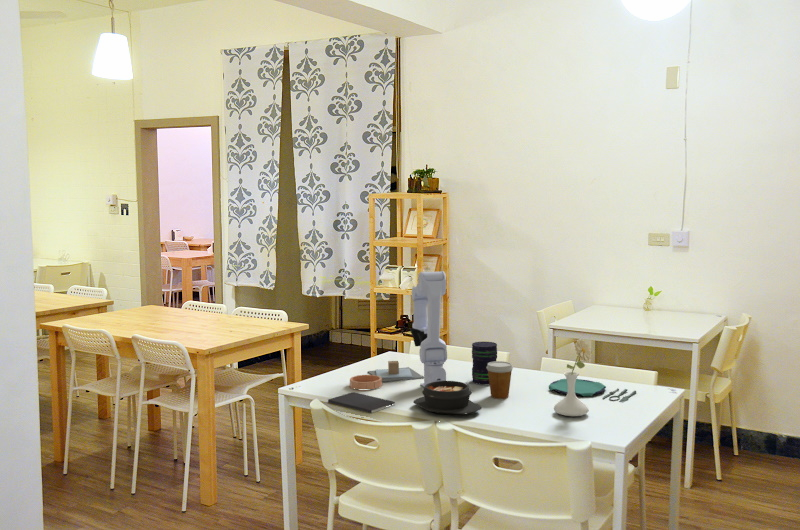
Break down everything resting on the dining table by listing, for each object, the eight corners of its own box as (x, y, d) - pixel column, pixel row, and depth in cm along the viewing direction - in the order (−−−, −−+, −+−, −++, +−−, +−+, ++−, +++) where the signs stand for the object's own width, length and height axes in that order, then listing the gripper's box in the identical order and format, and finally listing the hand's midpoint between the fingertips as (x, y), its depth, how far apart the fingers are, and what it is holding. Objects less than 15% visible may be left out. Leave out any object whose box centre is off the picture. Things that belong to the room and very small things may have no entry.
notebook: (328, 403, 266) (371, 414, 252) (327, 399, 266) (371, 410, 252) (353, 396, 275) (396, 406, 261) (353, 391, 275) (396, 401, 261)
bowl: (385, 388, 283) (385, 380, 283) (355, 391, 279) (355, 383, 279) (376, 381, 294) (376, 373, 294) (346, 384, 290) (346, 376, 290)
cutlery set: (563, 381, 291) (564, 375, 291) (639, 394, 273) (640, 387, 272) (540, 393, 275) (540, 386, 275) (619, 407, 257) (619, 401, 257)
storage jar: (490, 377, 297) (490, 340, 296) (501, 383, 288) (501, 345, 286) (467, 379, 294) (467, 342, 292) (478, 386, 285) (478, 347, 283)
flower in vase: (567, 421, 240) (567, 344, 237) (546, 411, 250) (547, 338, 248) (600, 415, 245) (600, 341, 243) (578, 406, 255) (579, 335, 253)
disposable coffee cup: (497, 391, 276) (497, 359, 275) (518, 396, 270) (518, 363, 268) (481, 396, 270) (480, 364, 269) (502, 401, 263) (502, 368, 262)
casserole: (401, 409, 256) (401, 385, 255) (435, 397, 270) (435, 375, 269) (459, 423, 239) (459, 398, 238) (492, 410, 253) (492, 386, 252)
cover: (412, 377, 296) (412, 365, 296) (377, 379, 295) (377, 366, 295) (409, 369, 310) (408, 357, 310) (375, 370, 309) (375, 358, 309)
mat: (423, 378, 298) (423, 377, 297) (381, 382, 292) (380, 381, 292) (408, 368, 314) (408, 367, 314) (367, 372, 309) (367, 371, 309)
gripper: (436, 317, 301) (436, 350, 302) (423, 312, 315) (423, 343, 316) (419, 318, 299) (420, 352, 300) (407, 313, 312) (408, 345, 314)
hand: (420, 347), depth 308 cm, fingers open, 7 cm apart
